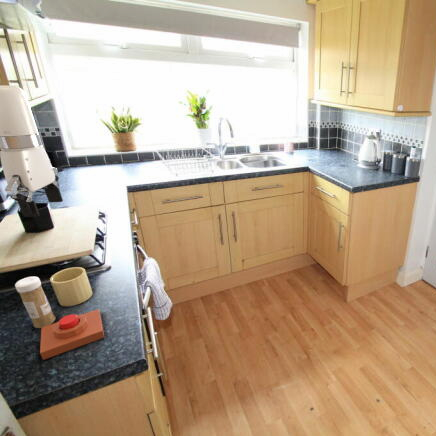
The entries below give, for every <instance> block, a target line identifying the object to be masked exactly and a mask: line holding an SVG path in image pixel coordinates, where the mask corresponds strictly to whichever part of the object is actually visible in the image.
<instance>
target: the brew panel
mask: <svg viewBox="0 0 436 436" xmlns="http://www.w3.org/2000/svg"><path fill="white" fill-rule="evenodd" d="M76 315H77V318H78V320H79V323H78V325H76V326H75V327H73V328H70V329H67V330H63V329H61V327H60V325H59V321H57V322H53V323H52V324H50V325H48V326H45V327H42V328H40V329H41V330H40V344H39V345H40V346H39V348H40V350H39V354H40V356H41V359H42V360H43V361H44V360H47V359H49V358H53V357H55V356H59V355H61V354H63V353H66V352H68V351H71V350H74V349H76V348H79V347H82V346H85V345H88V344H90V343H93V342H96V341H98V340H101V339H104V338H105V332H104V326H103V321H102V320H103V319H102V315H101V311H100V309H99V308H97V309H94V310H91V311H88V312H85V313H82V314H76Z"/></svg>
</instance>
